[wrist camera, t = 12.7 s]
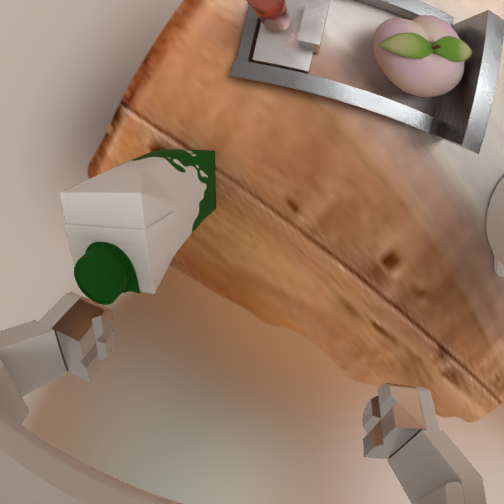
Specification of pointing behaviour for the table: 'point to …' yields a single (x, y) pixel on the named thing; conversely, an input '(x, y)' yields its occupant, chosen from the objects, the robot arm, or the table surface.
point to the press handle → (289, 31)
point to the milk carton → (136, 220)
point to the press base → (440, 125)
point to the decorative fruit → (420, 54)
